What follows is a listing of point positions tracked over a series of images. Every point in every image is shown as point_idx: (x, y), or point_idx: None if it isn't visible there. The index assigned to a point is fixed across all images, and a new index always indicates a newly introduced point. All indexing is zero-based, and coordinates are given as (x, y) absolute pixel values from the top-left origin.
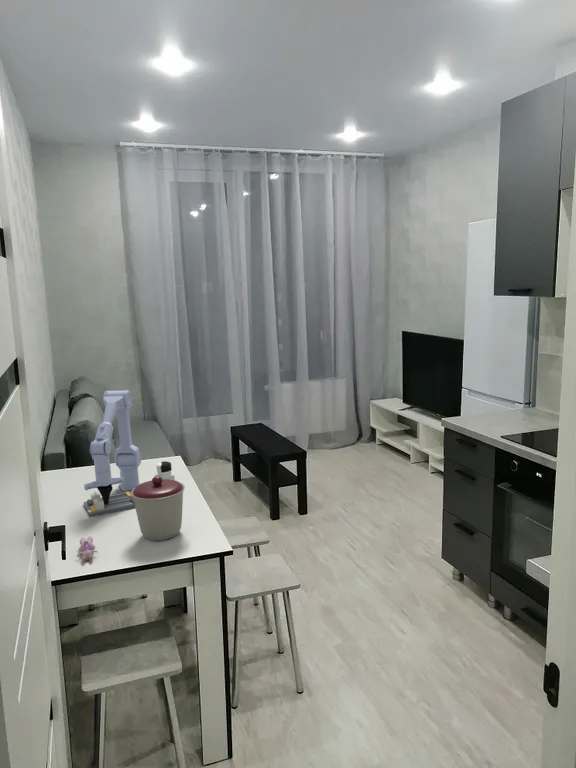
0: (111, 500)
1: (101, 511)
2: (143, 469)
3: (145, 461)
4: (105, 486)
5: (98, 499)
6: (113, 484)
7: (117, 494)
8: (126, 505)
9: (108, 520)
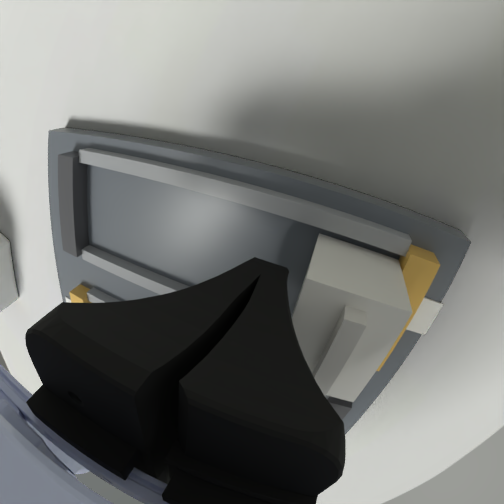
0: None
1: (361, 218)
2: None
3: None
4: (143, 462)
5: (339, 354)
6: (21, 386)
7: None
8: (125, 155)
9: (377, 21)
